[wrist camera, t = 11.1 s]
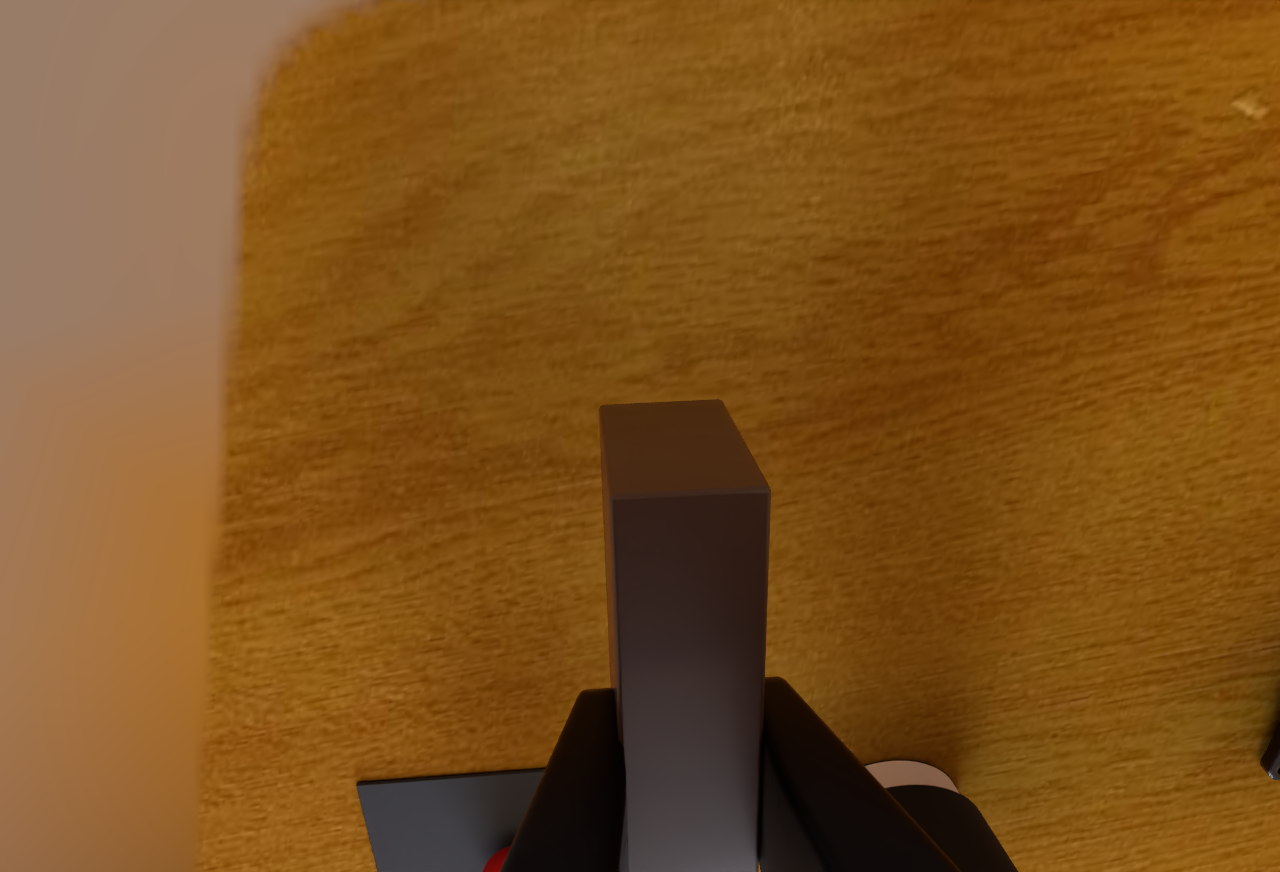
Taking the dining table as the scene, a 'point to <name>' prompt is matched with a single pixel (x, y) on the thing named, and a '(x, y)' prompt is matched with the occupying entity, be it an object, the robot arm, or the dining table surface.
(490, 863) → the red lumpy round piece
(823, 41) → the dining table surface
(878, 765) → the dixie cup
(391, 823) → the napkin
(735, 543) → the fork
